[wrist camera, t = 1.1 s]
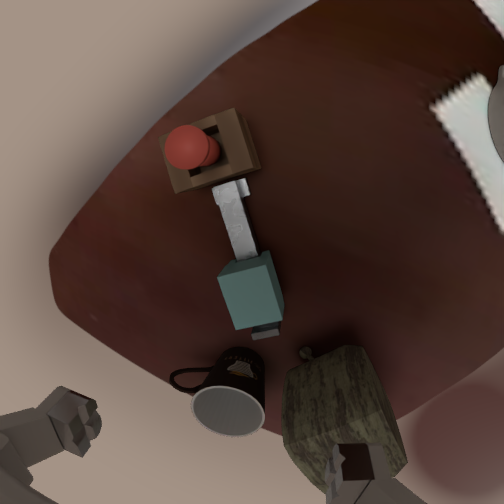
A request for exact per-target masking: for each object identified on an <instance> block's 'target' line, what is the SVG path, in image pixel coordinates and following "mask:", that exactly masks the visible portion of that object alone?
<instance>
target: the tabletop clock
mask: <svg viewBox="0 0 504 504" xmlns="http://www.w3.org/2000/svg"><path fill="white" fill-rule="evenodd" d="M299 353H300V356H301V357H302V358H304V359H305V358H308V359H309V362H306V363H304V364H302V365H299V366H297V367H295V368H292V369H290V370H289V371H288V372H287V375H286V378H285V383H284V389H283V395H282V435H283V442H284V447H285V449H286V450H287V452H288V454H289V456H290V457H291V459H292V460H293V462H294V463H295V465H296V466H297V467H298V468H299V469H300V470H301V472H302V473H303V474H304V475H305V476H306V477H307V478H308V479H309V480H310V482H311V483H312V484H313V485H315V486H316V487H317V488H318V489H319V490H321V491H322V492H323V493H324V494H326V492H327V490H328V488H329V486H328V485H327V484H326V483H325V469H326V464H327V462H328V459H329V458H330V457H332V456H333V452H332V450H333V448H334V446H335V445H336V444H345V443H381V444H382V446H383V450H384V453H385V457H386V460H387V464H388V468H389V472H390V475H391V478H392V477H395V476H396V475H397V474H398V473H399V471H400V470H401V469H402V468H403V467H404V466H405V465H406V464H407V463H408V462H407V457H406V454H405V449H404V446H403V442H402V439H401V435H400V432H399V429H398V426H397V422H396V419H395V416H394V413H393V410H392V407H391V404H390V402H389V399H388V397H387V395H386V392H385V390H384V388H383V386H382V384H381V382H380V380H379V378H378V376H377V373H376V371H375V369H374V367H373V365H372V363H371V361H370V359H369V357H368V356H367V354H366V352H365V350H364V348H363V346H356V345H343V346H341V347H339V348H337V349H335V350H333V351H331V352H328V353H326V354H324V355H322V356H320V357H318V358H315V359H314V358H313V357H312V356H311V354H312V352H311V349H310V348H309V347H303V348H301V349H300V352H299Z"/></svg>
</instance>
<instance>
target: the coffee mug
mask: <svg viewBox="0 0 504 504" xmlns="http://www.w3.org/2000/svg"><path fill="white" fill-rule="evenodd" d="M186 372H210V373H209V375H208V376H207V377H206V379H205V380H204V382H203V383H202V384H201V385H198V386H196V387H194V388H185V387H181V386H179V385H178V384H177V383H176V382H175V381H174V377H175V376H176V375H178V374H182V373H186ZM169 382H170V384H171V385H172V386H173V387H174V388H175V389H177V390H179V391H181V392H184V393H196V394H195V395H194V396H193V399H192V401H191V410H192V413H193V415H194V417H195V418H196V420H197V421H198V422H199V423H200V424H201V425H202V426H204V427H205V428H206V429H208V430H210V431H212V432H214V433H216V434H219V435H223V436H229V437H243V436H247V435H250V434H253V433H255V432H256V431H258V430H259V429H260V428H261V427H262V425H263V423H264V420H265V385H264V362H263V360H262V358H261V357H260V356H259V355H258V354H257V353H256V352H255V351H253V350H251V349H248V348H245V347H234V348H230V349H228V350H226V351H225V352H224V353H223V354H222V355H221V357H220V358H219V360H218V361H217V363H216V364H215V366H212V367H209V368H185V369H180V370H176V371H174V372H172V373H171V375H170V380H169Z"/></svg>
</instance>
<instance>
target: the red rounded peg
mask: <svg viewBox="0 0 504 504" xmlns="http://www.w3.org/2000/svg"><path fill="white" fill-rule="evenodd" d="M165 155H166V158H167V160H168V161H169V162H170V164H171V165H173V166H174V167H176V168H178V169H194V168H197V167H199V166H204V167H207V166H211V165H213V164H215V163H216V162H217V161H218V159H219V158H220V155H221V147H220V144H219V142H218V141H217V140H216V139H215V138H213V137H210V136H208V135H206V134H205V132H204V131H202V130H201V129H199V128H197V127H195V126H191V125H183V126H180V127H177V128H176V129H174V130H173V131H172V132H171V133H170V134H169V136H168V137H167V139H166V142H165Z"/></svg>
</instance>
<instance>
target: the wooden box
mask: <svg viewBox="0 0 504 504" xmlns="http://www.w3.org/2000/svg"><path fill="white" fill-rule="evenodd" d="M188 125H191V126H195V127H197V128H199V129H201V130H202V131H204V132H205V134H206V135H208V136H210V137H213V138H215V139H216V140H217V141H218V142H219V144H220V147H221V155H220V158H219V159H218V161H217V162H216V163H215V164H213V165H211V166H207V167H204V166H199V167H197V168H194V169H178V168H176V167H174V166H173V165H171V164H170V162H169V161H168V160H167V158H166V155H165V142H166V139H167V137H168V136H169V134H170V133H171V132H172V131H171V132H169V133H167V134H164V135H162V136H160V137H158V139H159V142H160V146H161V149H162V153H163V156H164V159H165V163H166V166H167V169H168V173H169V176H170V179H171V182H172V186H173V189H174V192H175V194H176V193H181V192H186V191H192V190H197V189H200V188H203V187H206V186H209V185H212V184H215V183H218V182H221V181H224V180H227V179H230V178H233V177H236V176H239V175H242V174H245V173H249V172H252V171H255V170H258V169H262V168H261V165H260V162H259V158H258V155H257V152H256V149H255V146H254V143H253V140H252V137H251V133H250V130H249V127H248V124H247V121H246V119H245V118H244V117H243V116H242V115H241V114H240V113H239V112H238V111H237V110H236V109H235V108H232V109H229V110H226V111H223V112H220V113H217V114H215V115H212V116H209V117H206V118H204V119H201V120H199V121H196V122H193V123H191V124H188Z"/></svg>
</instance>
